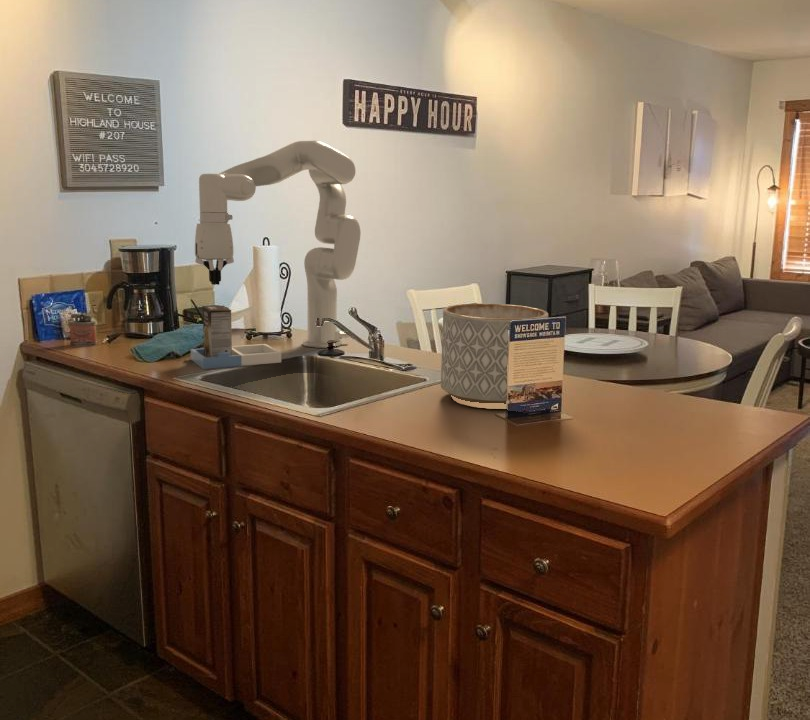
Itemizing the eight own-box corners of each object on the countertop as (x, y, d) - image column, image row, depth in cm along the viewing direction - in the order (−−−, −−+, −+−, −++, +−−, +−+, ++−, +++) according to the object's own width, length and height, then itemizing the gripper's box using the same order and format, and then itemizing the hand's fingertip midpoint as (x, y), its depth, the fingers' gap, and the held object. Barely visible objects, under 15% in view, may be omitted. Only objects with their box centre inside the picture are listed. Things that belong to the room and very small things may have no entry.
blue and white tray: (265, 353, 245) (265, 340, 245) (281, 362, 233) (281, 349, 233) (190, 359, 235) (190, 345, 234) (203, 368, 223) (202, 355, 222)
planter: (468, 417, 182) (472, 321, 177) (424, 390, 205) (426, 305, 200) (563, 408, 191) (569, 317, 187) (510, 384, 215) (515, 302, 210)
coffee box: (203, 360, 234) (201, 305, 231) (225, 358, 237) (223, 304, 233) (210, 366, 226) (208, 310, 223) (232, 364, 229) (231, 309, 226)
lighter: (98, 344, 253) (96, 312, 251) (94, 346, 250) (93, 314, 248) (72, 343, 253) (70, 312, 250) (68, 345, 249) (66, 314, 247)
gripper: (235, 218, 229) (236, 282, 233) (183, 218, 222) (185, 283, 226) (243, 219, 223) (244, 284, 227) (190, 219, 216) (192, 286, 220)
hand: (215, 284), depth 227 cm, fingers closed
